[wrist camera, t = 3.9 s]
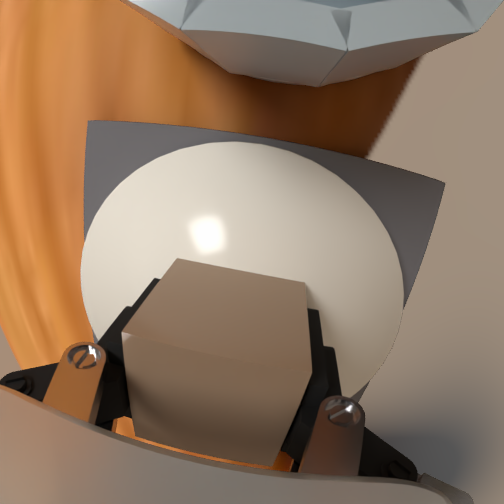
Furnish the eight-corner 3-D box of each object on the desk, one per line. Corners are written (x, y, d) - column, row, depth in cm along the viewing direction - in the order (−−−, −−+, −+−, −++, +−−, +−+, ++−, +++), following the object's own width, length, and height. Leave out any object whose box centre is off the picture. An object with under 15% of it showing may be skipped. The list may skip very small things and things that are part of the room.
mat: (96, 120, 11) (88, 120, 10) (438, 180, 10) (445, 183, 10) (105, 375, 16) (101, 382, 16) (340, 423, 16) (341, 431, 15)
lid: (91, 125, 10) (-13, 139, 6) (440, 187, 10) (530, 235, 5) (104, 381, 15) (61, 451, 11) (338, 429, 15) (346, 513, 10)
